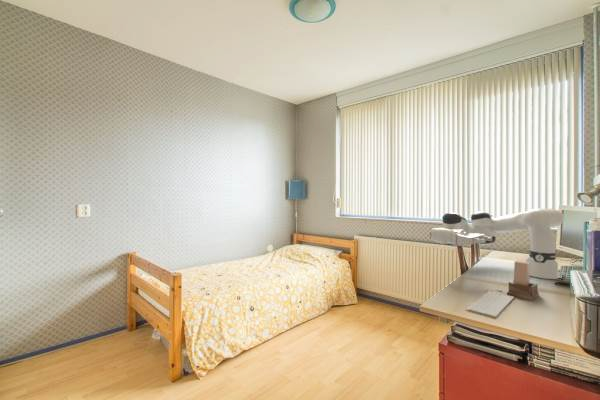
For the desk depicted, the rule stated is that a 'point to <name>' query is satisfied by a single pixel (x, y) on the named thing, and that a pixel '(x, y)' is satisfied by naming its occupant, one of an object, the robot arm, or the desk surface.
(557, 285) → the desk surface
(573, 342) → the desk surface
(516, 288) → the slotted wooden stand
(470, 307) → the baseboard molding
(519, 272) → the clay strip
